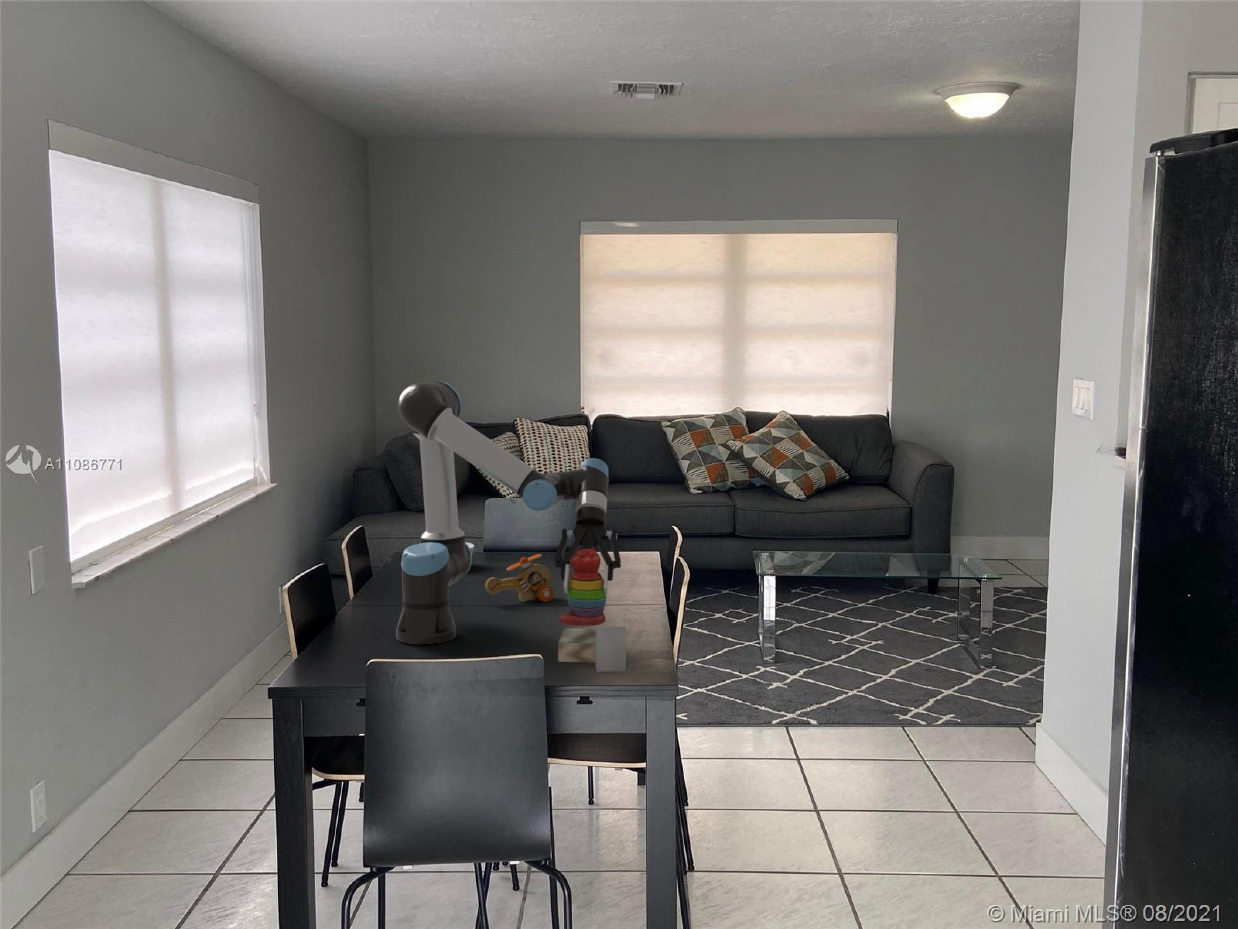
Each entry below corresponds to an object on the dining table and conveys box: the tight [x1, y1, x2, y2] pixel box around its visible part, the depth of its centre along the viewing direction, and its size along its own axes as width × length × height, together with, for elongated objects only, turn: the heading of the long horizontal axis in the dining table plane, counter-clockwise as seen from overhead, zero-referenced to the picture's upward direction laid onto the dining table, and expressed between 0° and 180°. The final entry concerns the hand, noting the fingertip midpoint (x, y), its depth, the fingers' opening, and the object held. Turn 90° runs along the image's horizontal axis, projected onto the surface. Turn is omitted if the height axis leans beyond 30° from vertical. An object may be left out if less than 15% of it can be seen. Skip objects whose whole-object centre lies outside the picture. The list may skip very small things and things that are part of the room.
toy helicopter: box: [484, 553, 554, 603], centre depth 314 cm, size 8×21×14 cm, turn 122°
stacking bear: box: [558, 547, 607, 627], centre depth 261 cm, size 11×10×18 cm
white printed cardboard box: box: [595, 626, 627, 673], centre depth 252 cm, size 4×7×10 cm, turn 96°
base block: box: [557, 627, 596, 664], centre depth 263 cm, size 12×12×5 cm
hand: (585, 590), depth 258 cm, fingers closed on stacking bear, 9 cm apart
